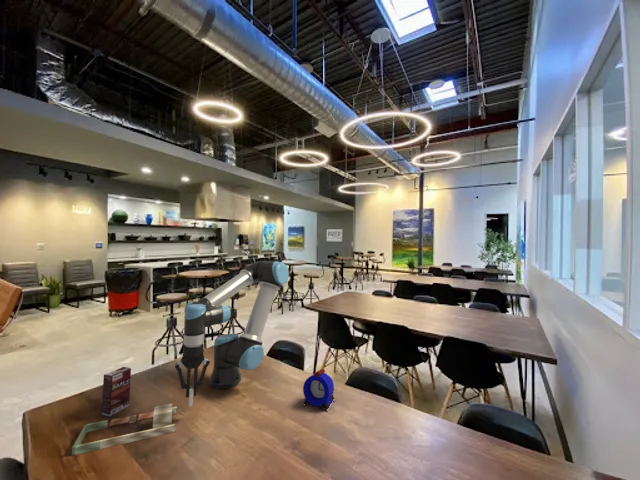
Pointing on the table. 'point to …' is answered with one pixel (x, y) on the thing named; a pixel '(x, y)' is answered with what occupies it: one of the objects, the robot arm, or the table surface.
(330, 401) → the alarm clock
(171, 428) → the channel
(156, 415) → the cream white block
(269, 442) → the table surface
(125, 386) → the supplement box
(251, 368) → the robot arm
